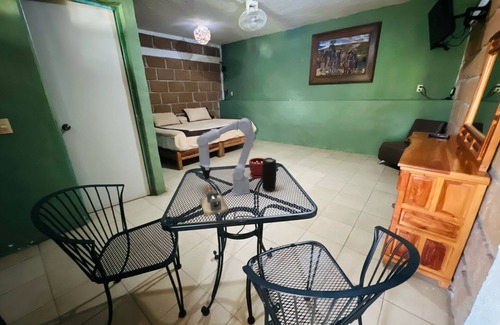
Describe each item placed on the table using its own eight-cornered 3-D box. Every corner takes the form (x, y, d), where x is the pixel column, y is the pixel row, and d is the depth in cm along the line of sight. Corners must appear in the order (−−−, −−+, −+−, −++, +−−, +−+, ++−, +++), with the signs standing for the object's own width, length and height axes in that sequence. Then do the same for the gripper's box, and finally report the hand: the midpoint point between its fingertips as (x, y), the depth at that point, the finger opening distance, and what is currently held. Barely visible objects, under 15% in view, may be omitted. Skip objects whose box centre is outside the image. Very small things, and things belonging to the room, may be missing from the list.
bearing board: (221, 197, 117) (220, 186, 115) (228, 210, 103) (228, 199, 101) (200, 201, 113) (198, 190, 111) (205, 216, 99) (203, 204, 97)
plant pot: (245, 175, 148) (245, 160, 144) (258, 171, 156) (258, 156, 152) (258, 181, 138) (258, 164, 135) (271, 175, 147) (271, 160, 143)
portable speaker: (262, 193, 121) (262, 162, 115) (261, 186, 130) (261, 157, 124) (276, 192, 121) (277, 161, 115) (274, 186, 130) (275, 157, 124)
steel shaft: (212, 190, 119) (211, 184, 118) (219, 205, 103) (218, 198, 102) (205, 191, 118) (204, 185, 117) (211, 206, 102) (210, 199, 101)
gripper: (195, 153, 122) (197, 174, 126) (199, 160, 109) (201, 183, 113) (207, 152, 124) (209, 172, 128) (212, 158, 111) (213, 181, 116)
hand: (206, 177), depth 121 cm, fingers open, 5 cm apart
